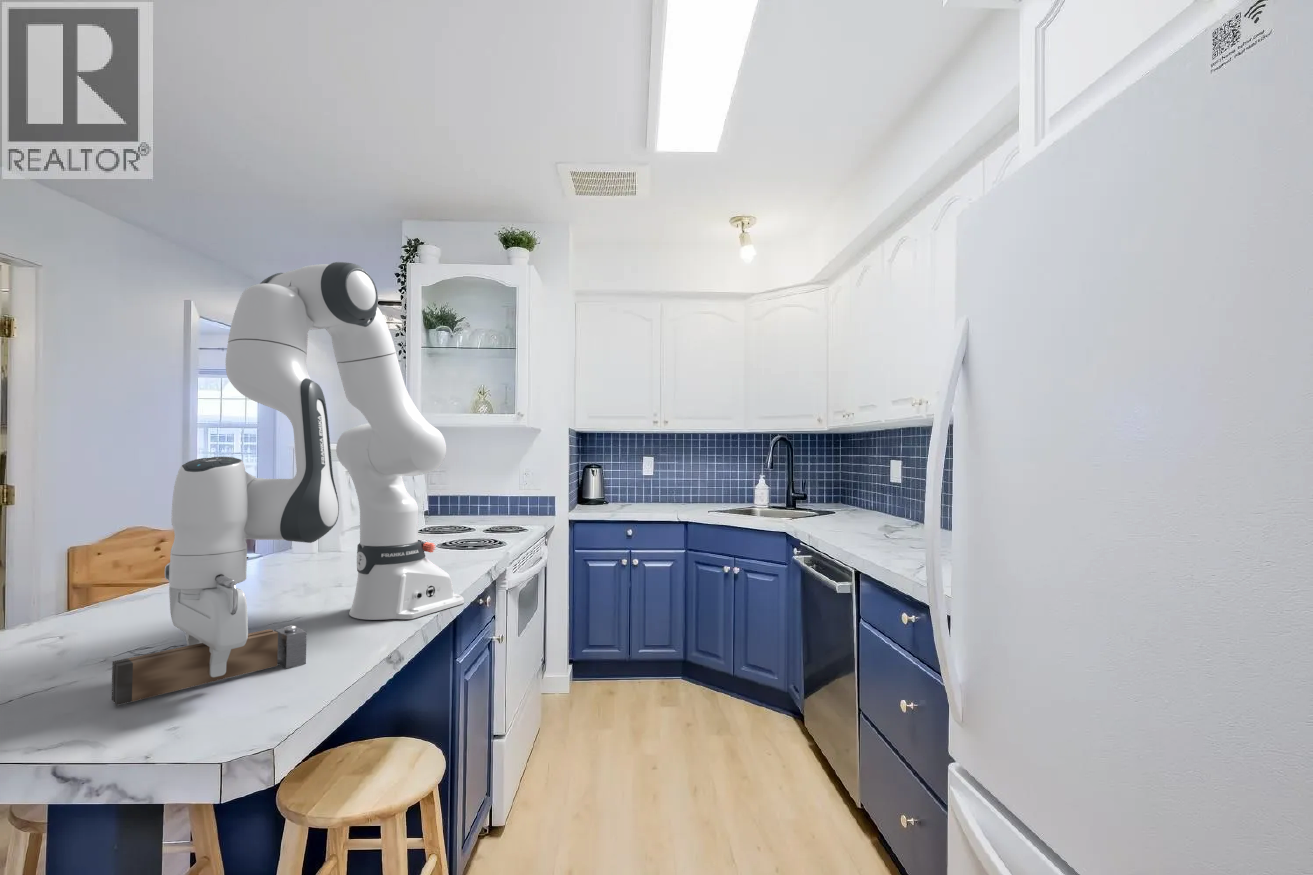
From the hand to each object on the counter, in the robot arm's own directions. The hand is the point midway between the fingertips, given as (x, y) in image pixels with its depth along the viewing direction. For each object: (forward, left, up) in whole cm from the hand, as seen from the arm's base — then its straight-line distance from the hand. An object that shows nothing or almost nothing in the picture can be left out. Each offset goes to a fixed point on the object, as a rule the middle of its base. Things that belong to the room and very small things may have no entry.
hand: (206, 668), depth 86 cm
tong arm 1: (+1, -1, -2) cm, 2 cm away
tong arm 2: (+1, +1, -2) cm, 2 cm away
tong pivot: (-11, 0, -2) cm, 11 cm away
